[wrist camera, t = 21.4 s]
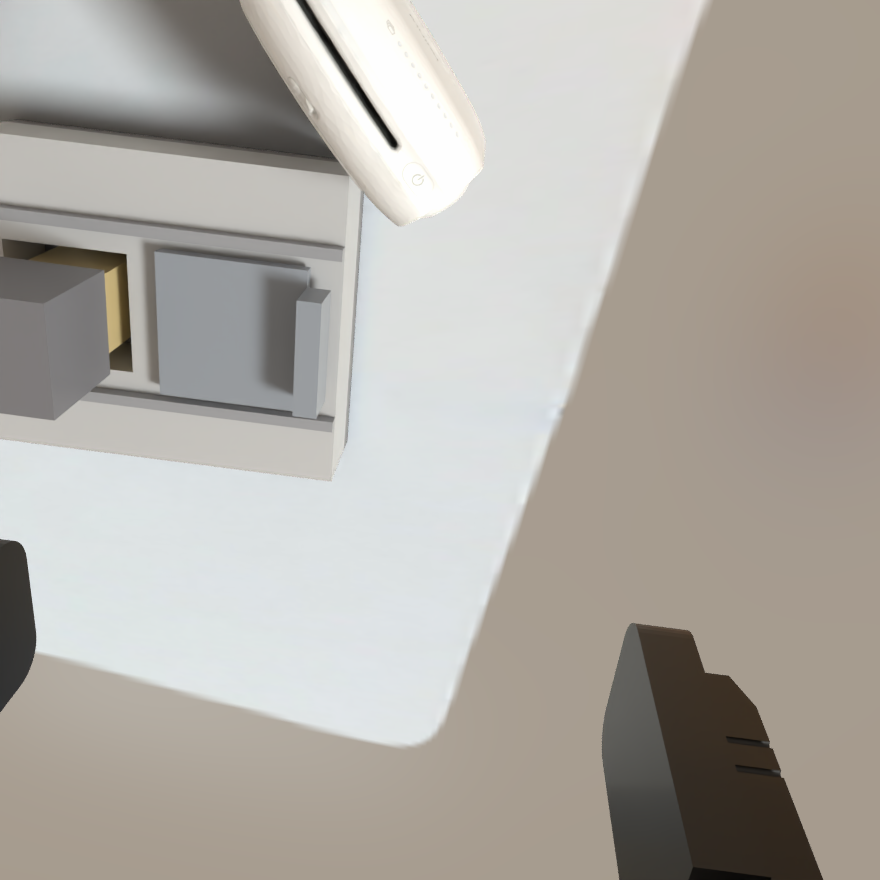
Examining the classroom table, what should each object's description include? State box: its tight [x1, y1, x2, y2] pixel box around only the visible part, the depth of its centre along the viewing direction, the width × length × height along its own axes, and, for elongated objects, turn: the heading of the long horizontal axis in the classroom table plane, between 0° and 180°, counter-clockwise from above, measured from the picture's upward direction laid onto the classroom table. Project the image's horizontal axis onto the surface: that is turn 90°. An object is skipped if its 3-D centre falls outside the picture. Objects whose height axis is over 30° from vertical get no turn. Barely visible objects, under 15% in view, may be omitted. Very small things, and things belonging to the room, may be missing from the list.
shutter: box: [154, 249, 331, 419], centre depth 35 cm, size 6×7×3 cm
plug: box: [0, 246, 131, 421], centre depth 35 cm, size 5×5×10 cm
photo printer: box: [239, 0, 486, 226], centre depth 30 cm, size 10×4×12 cm, turn 34°
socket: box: [0, 120, 364, 481], centre depth 38 cm, size 14×16×5 cm
